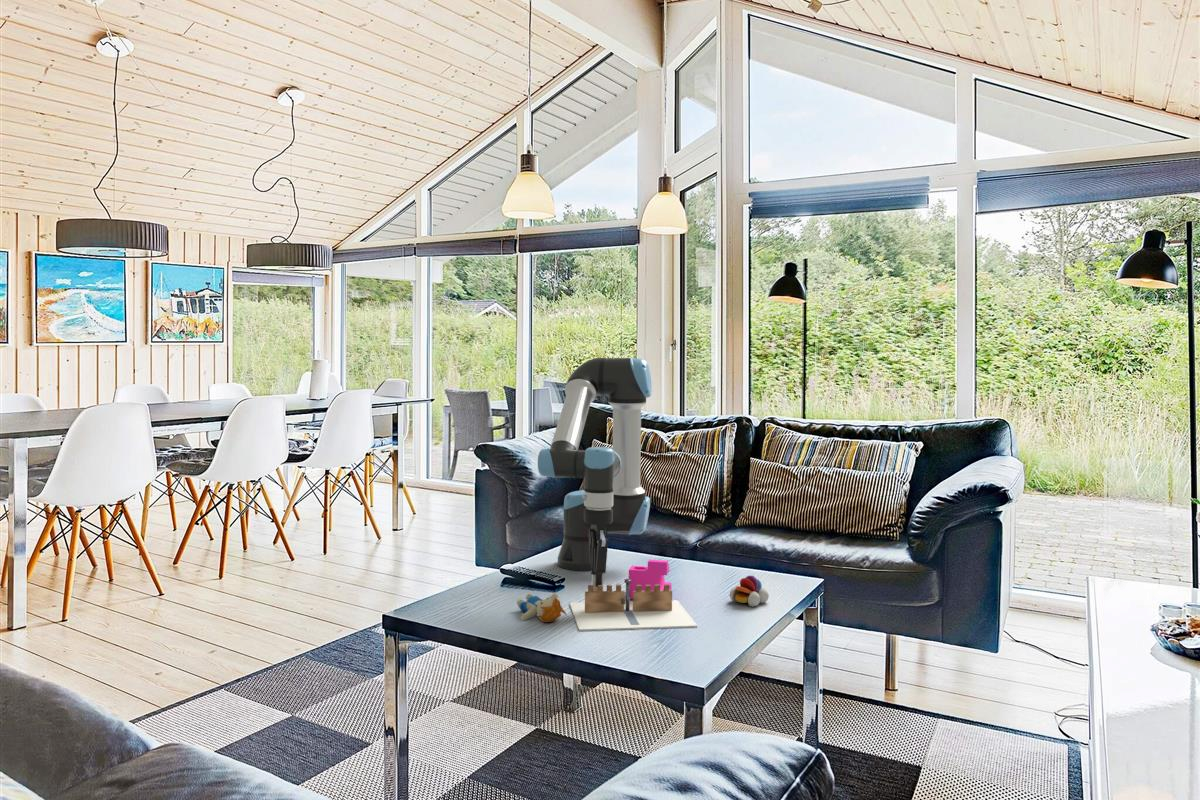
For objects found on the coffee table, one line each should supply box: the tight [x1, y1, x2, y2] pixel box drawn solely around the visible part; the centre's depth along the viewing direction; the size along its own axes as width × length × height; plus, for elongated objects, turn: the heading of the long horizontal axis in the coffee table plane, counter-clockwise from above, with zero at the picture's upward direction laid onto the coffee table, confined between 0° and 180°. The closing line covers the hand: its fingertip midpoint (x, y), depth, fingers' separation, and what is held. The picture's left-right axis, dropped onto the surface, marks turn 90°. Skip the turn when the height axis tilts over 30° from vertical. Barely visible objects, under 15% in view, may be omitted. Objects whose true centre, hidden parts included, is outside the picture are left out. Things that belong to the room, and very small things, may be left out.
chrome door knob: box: [624, 578, 632, 611], centre depth 219 cm, size 2×2×8 cm
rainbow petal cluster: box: [729, 575, 770, 608], centre depth 230 cm, size 8×10×7 cm
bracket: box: [628, 559, 673, 599], centre depth 235 cm, size 12×10×10 cm
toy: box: [516, 592, 568, 623], centre depth 215 cm, size 12×6×15 cm
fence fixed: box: [632, 584, 673, 611], centre depth 220 cm, size 10×1×7 cm, turn 98°
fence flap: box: [584, 584, 626, 612], centre depth 218 cm, size 10×2×7 cm, turn 98°
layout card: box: [569, 599, 698, 632], centre depth 217 cm, size 21×29×1 cm
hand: (597, 597), depth 221 cm, fingers closed
